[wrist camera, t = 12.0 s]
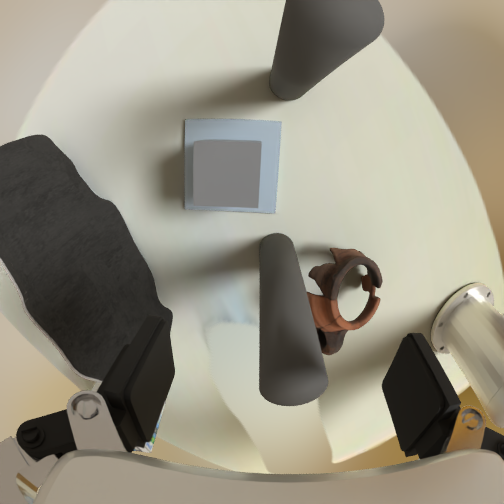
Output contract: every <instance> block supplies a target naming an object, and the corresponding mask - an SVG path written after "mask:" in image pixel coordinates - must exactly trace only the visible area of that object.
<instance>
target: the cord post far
mask: <svg viewBox="0 0 504 504" xmlns="http://www.w3.org/2000/svg"><path fill="white" fill-rule="evenodd" d="M259 360H260V361H259V362H260V363H259V364H260V367H259V370H260V371H259V390H260V393H261V395H262V396H263V397H264V398H265V399H266V400H267V401H269V402H271V403H274V404H277V405H282V406H296V405H302V404H305V403H308V402H310V401H313V400H315V399H316V398H318V397H319V396H320V395H322V394H323V392H324V391H325V390H326V388H327V386H328V377H327V373H326V368H325V364H324V360H323V355H322V351H321V347H320V343H319V339H318V335H317V331H316V327H315V323H314V319H313V315H312V311H311V307H310V304H309V300H308V296H307V292H306V288H305V285H304V281H303V277H302V274H301V270H300V266H299V263H298V259H297V256H296V252H295V249H294V245H293V242H292V241H291V239H290V238H289V237H287V236H286V235H284V234H280V233H274V234H271V235H268V236H267V237H265V238H264V239H263V241H262V242H261V244H260V359H259Z"/></svg>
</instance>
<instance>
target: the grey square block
mask: <svg viewBox="0 0 504 504" xmlns="http://www.w3.org/2000/svg"><path fill="white" fill-rule="evenodd" d="M261 148H262V142H261V141H256V140H226V139H206V140H200V141H194V157H193V202H194V206H217V207H241V208H258V204H259V186H260V167H261Z"/></svg>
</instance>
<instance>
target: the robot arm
mask: <svg viewBox="0 0 504 504" xmlns="http://www.w3.org/2000/svg"><path fill="white" fill-rule="evenodd" d="M431 342H432V344H433V346H434V347H435V349H436V350H437V351H438V352H440V353H445V354H448V353H451V355H452V356H453V358H454V360H455V361H456V363H457V364H458V366H459V367H460V369H461V371H462V372H463V374H464V375H465V377H466V379H467V380H468V382H469V384H470V385H471V387H472V388H473V390H474V392H475V394H476V395H477V397H478V399H479V401H480V402H481V404H482V406H483V408H484V409H485V411H486V413H487V414H488V417H489V418H490V420H491V421H492V422H493V423H494V424H495V425H496V426H498V427H500V428H504V314H500V313H499V312H498V311H497V310H496V309H495V308H494V296H493V293H492V291H491V290H490V289H489V288H488V287H487V286H486V285H485V284H482V283H474V284H470V285H468V286H466V287H464V288H462V289H461V290H459V291H458V292H456V293H455V294H454V295H453V296H452V297H451V298H450V299H449V300H448V301H447V302H446V303H445V305H444V306H443V307H442V309H441V310H440V312H439V313H438V315H437V317H436V319H435V321H434V323H433V326H432V330H431ZM174 375H175V367H174V361H173V354H172V347H171V339H170V331H169V323H168V321H164V318H163V317H162V316H155V315H148V316H147V318H146V319H145V321H144V322H143V324H142V326H141V327H140V329H139V330H138V332H137V334H136V335H135V337H134V339H133V340H132V342H131V344H125V345H124V347H123V348H122V350H121V351H120V353H119V355H118V356H117V358H116V359H115V361H114V363H113V364H112V366H111V368H110V369H109V371H108V373H107V374H106V376H105V378H104V380H103V381H102V383H101V385H100V386H99V388H98V390H97V392H94V391H89V390H85V391H80V392H78V393H76V394H74V395H73V396H72V397H71V398H70V399H69V401H68V403H67V409H66V410H62V411H59V412H56V413H52V414H49V415H46V416H42V417H39V418H35V419H31V420H28V421H26V422H24V423H22V424H21V425H20V427H19V428H18V431H17V434H16V437H15V438H12V437H11V436H10V437H9V438H7V439H5V440H4V441H2V442H0V504H504V436H503V435H501V434H499V433H497V432H495V431H493V430H491V429H489V428H487V427H485V426H486V419H485V416H484V415H483V413H482V412H481V411H480V410H479V409H478V408H476V407H473V406H465V407H463V408H462V409H461V408H460V406H459V405H460V404H461V402H460V400H459V398H458V396H457V394H456V392H455V390H454V388H453V386H452V384H451V382H450V381H449V379H448V377H447V375H446V373H445V372H444V370H443V368H442V366H441V364H440V363H439V361H438V359H437V358H436V356H435V354H434V352H433V351H432V349H431V347H430V346H429V344H428V342H427V341H426V339H425V337H424V336H423V334H422V333H409V334H408V335H407V336H406V337H404V338H403V340H402V342H401V344H400V346H399V349H398V351H397V353H396V355H395V357H394V360H393V362H392V364H391V366H390V368H389V370H388V372H387V374H386V376H385V378H384V380H383V382H382V390H383V393H384V396H385V399H386V402H387V405H388V408H389V411H390V414H391V418H392V421H393V424H394V427H395V431H396V434H397V437H398V440H399V444H400V448H401V450H402V451H404V452H405V456H406V457H408V456H413V455H417V454H418V456H419V459H418V460H415V461H411V462H406V463H401V464H397V465H391V466H385V467H380V468H373V469H366V470H358V471H348V472H339V473H324V474H261V473H246V472H235V471H225V470H218V469H210V468H204V467H197V466H191V465H186V464H180V463H175V462H170V461H165V460H161V459H157V458H152V457H147V456H143V455H138V454H134V453H132V451H134V449H135V446H137V447H141V448H144V447H145V444H146V442H148V443H149V442H150V441H151V440H152V437H153V434H154V431H155V428H156V425H157V423H158V420H159V417H160V414H161V411H162V409H163V406H164V403H165V400H166V398H167V395H168V392H169V389H170V387H171V384H172V381H173V378H174ZM41 485H42V486H41ZM40 486H41V487H40ZM39 487H40V489H39V492H38V494H37V490H38V488H39Z"/></svg>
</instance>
